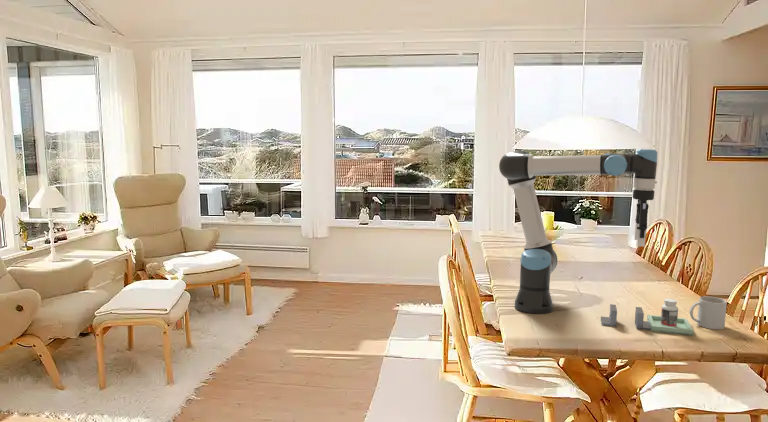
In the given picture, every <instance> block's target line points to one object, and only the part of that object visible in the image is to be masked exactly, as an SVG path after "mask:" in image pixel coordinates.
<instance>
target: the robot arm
mask: <svg viewBox="0 0 768 422" xmlns="http://www.w3.org/2000/svg"><path fill="white" fill-rule="evenodd" d="M657 166H658V151H657V150H656V149H649V148H647V149H646V148H645V149H643V148H642V149H641V148H639V149H638V148H637V149H636V152H635V153H614V152H611V153H604V154H595V155H594V154H588V155H586V154H585V155H582V154H581V155H549V156H547V155H546V156H545V155H542V156H541V155H540V156H538V155H537V156H535V155H533V154H531V153H528V152H526V151H524V150H515V151H510V152H506V154H504V155H503V156H501V158H500V161H499V164H498V167H499V169H498V170H499V172H500V174H501V176H503V177H504V178H505V179H506V180H507V184H508V186H509V187H510V188H512V189H513V193H514V197H515V201H516V205H517V210H518V215H519V218H520V223H521V226H522V231H523V234H524V240H525V242H526V243H525V244H524V246H523V252H522V253H521V256H520V270H519V271H520V273H519V275H520V276H519V289H518V292H517V294H516V297H515V300H514V308H515V310H516V309H517V311H521V312H524V313H527V314H534V315H535V314H538V315H539V314H548V313H551V312H552V311H553V309H554V302H553V298H552V296H551V292H550V282H551V281H550V280H551V274H552V273H553V272H554V271H555V269H556V267H557V265H558V256H557V253H556V251H555V250H554V248H553V243H552V241H551V240H549V239H548V238H547V234H546V231H545V226H544V223H543V217H542V213H541V209H540V206H539V202H538V197H537V194H536V189H535V185H534V184H535V182H536V180H537V177H536V176H539V177H540V176H613V177H614V176H620V175H623V174H634V177H633V190H632V199H633V200H637V203H636V214H635V220H634V221H635V227H634V239H633V240H635V241H636V246H637V247H643V248H644V247H645V248H646V238H647V237H646V236H647V229H648V215H649V214H648V213H649V207H650V205H649V203H648V201H653V200H654V199H655V190H654V189H655V187H656V184H657V183H658V182H657V181H656V176H657Z"/></svg>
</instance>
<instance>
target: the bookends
mask: <svg viewBox="0 0 768 422" xmlns="http://www.w3.org/2000/svg"><path fill="white" fill-rule="evenodd" d="M634 313H635V314H634V326H635V327H636V330H643V331H651V326H650V324H649V322H648V321H647V320H644V319H645V318H644V317H645V313H644V311H643V308H642V307H640V306H635V312H634ZM617 316H618V309H617V304H612V303H611V304H610V305H609V316H600V323H601V326H605V327H607V326H608V327H615V328H616V327H617V319H618V318H617ZM651 332H652V331H651Z"/></svg>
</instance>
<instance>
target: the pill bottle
mask: <svg viewBox="0 0 768 422" xmlns="http://www.w3.org/2000/svg"><path fill="white" fill-rule="evenodd" d="M663 302H664V303H663V304H662V305H661V314H660V316H661V325H662V326H666V327H677V318H679V316H678V315H679V307H678V306H677V303H678V301H677V300H676V299H673V298H664V301H663Z"/></svg>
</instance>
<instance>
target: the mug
mask: <svg viewBox="0 0 768 422" xmlns="http://www.w3.org/2000/svg"><path fill="white" fill-rule="evenodd" d="M727 305H728V302H727V300H726V299H724V298H720V297H715V296H707V295H705V296H700V297H699V299H698V301H695V302H694V303H693V304H692V305H691V306H690V308H689V316H690V318H691V320H693V322H696V323H697V325H698V326H700V327H701V326H702V328H704V327H705V329H708V328H709V329H710V330H724V329H725V325H726V314H727V307H728V306H727ZM697 306H698V310H697V318H695V317H694V308H696V307H697ZM709 329H708V330H709Z"/></svg>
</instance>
